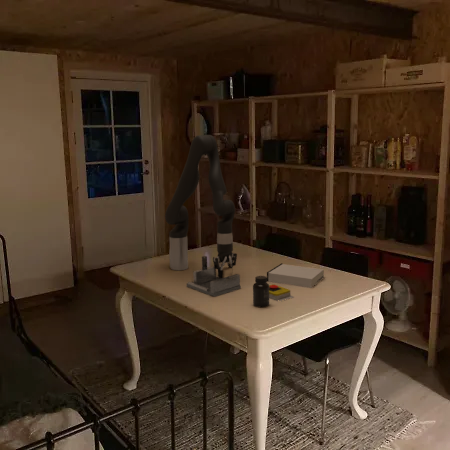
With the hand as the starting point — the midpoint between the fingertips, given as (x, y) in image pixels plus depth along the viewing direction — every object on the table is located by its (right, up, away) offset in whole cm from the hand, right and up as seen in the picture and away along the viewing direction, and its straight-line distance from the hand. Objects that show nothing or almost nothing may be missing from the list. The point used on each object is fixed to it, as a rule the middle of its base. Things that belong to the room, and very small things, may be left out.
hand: (225, 275), depth 246 cm
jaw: (-10, -2, -5) cm, 11 cm away
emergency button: (+22, -7, -20) cm, 31 cm away
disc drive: (+34, -3, +1) cm, 34 cm away
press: (-6, -5, -9) cm, 12 cm away
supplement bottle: (+15, -9, -32) cm, 36 cm away
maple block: (0, -2, +1) cm, 3 cm away
